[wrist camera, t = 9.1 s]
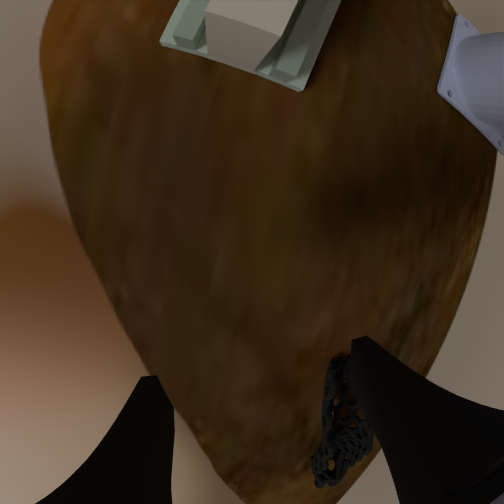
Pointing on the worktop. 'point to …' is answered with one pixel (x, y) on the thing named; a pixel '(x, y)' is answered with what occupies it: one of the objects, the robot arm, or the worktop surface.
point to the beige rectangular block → (245, 29)
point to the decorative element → (339, 430)
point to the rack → (281, 54)
